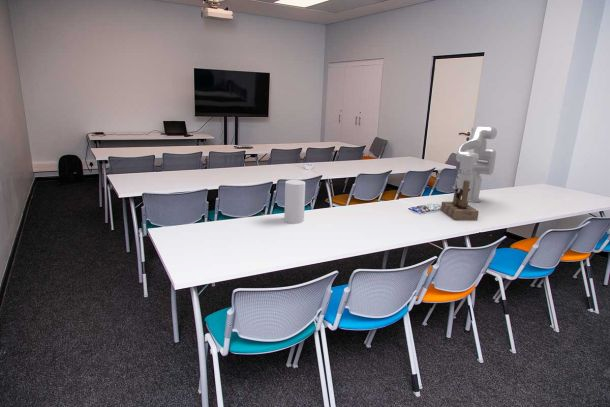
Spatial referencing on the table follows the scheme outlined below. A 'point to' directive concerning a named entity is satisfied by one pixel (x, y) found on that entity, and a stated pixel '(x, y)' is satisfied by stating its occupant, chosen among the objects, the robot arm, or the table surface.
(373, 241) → the table surface
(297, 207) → the cylinder
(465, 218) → the end cap block
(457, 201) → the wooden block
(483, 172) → the robot arm
